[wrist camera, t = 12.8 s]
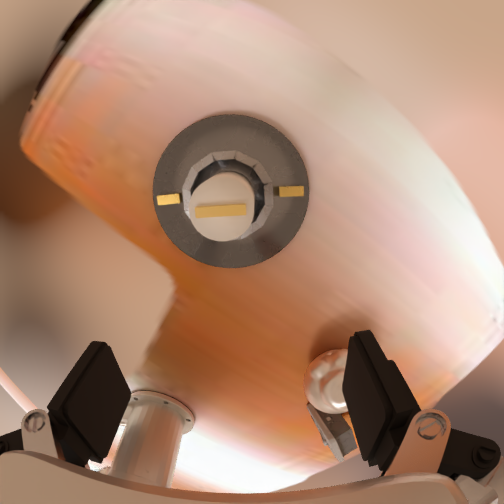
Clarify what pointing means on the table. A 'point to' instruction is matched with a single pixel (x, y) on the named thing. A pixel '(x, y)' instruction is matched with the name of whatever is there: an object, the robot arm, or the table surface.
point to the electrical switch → (334, 432)
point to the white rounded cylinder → (223, 206)
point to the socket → (245, 162)
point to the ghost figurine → (326, 381)
